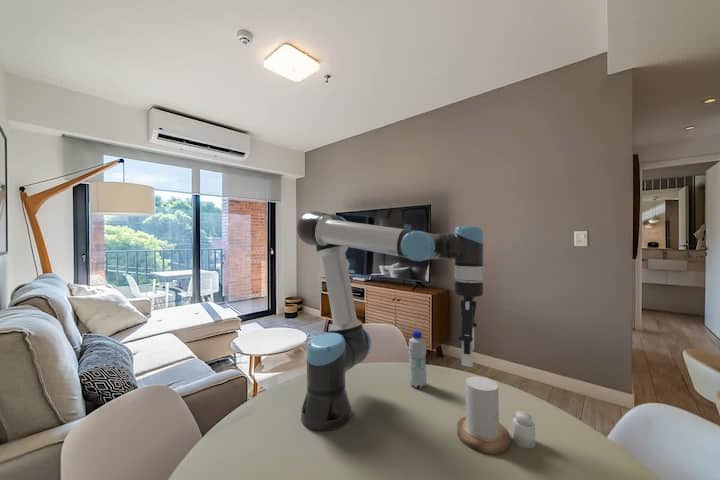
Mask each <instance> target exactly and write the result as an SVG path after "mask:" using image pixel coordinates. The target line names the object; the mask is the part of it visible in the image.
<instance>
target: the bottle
mask: <svg viewBox="0 0 720 480" xmlns="http://www.w3.org/2000/svg"><path fill="white" fill-rule="evenodd" d="M422 335H423V334H422V332H421V331H419V330H414V331H412V337H411V338H409V339H408V340H409V341H408V347H407V349H408V353H409V376H408V378H409V379H408V380H409V382H410V385H411V387H414V388H416V389H417V388H418V386H419V388H420V389H422V388H423V387H425V386H426V385H427V369H426V368H427V367H426V364H427V363H426V362H427V360H426V358H427V357H426V355H427V344H426V339H424V338H423V337H422Z"/></svg>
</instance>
